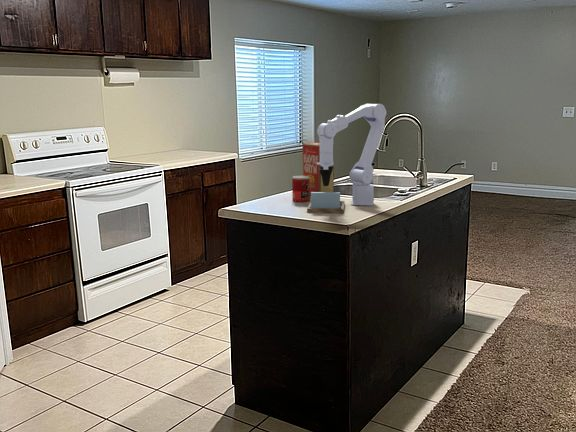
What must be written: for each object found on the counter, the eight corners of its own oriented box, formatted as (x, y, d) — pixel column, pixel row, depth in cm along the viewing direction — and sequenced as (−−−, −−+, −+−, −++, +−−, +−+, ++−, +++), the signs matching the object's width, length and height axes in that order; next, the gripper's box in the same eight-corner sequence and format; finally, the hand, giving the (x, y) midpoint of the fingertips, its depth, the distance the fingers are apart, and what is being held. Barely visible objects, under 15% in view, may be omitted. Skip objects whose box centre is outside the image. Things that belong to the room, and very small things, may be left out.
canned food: (303, 202, 257) (303, 178, 254) (289, 201, 261) (288, 177, 259) (312, 200, 263) (312, 176, 261) (298, 198, 267) (298, 175, 265)
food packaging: (301, 195, 275) (301, 143, 270) (316, 193, 281) (316, 142, 275) (319, 199, 265) (319, 145, 259) (334, 196, 270) (335, 143, 265)
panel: (339, 211, 239) (340, 192, 237) (339, 212, 237) (340, 193, 235) (311, 210, 240) (311, 192, 238) (310, 211, 238) (310, 192, 236)
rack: (344, 204, 252) (344, 201, 251) (343, 213, 234) (343, 209, 234) (310, 204, 253) (310, 200, 253) (307, 212, 236) (307, 208, 236)
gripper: (317, 150, 247) (317, 181, 250) (315, 154, 233) (316, 187, 236) (334, 150, 246) (334, 181, 249) (333, 154, 232) (333, 187, 235)
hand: (326, 184), depth 242 cm, fingers open, 7 cm apart
